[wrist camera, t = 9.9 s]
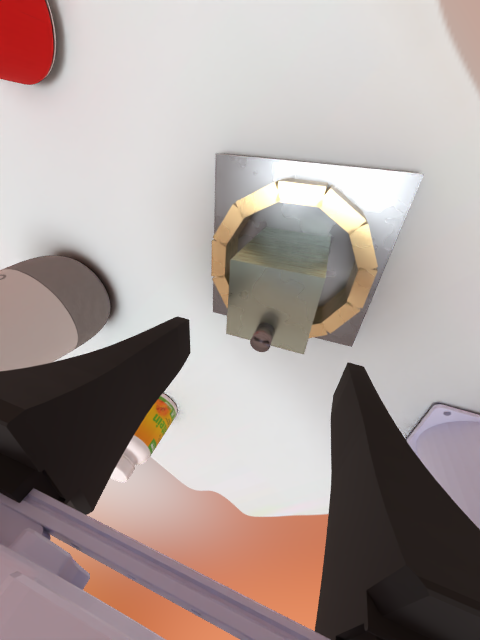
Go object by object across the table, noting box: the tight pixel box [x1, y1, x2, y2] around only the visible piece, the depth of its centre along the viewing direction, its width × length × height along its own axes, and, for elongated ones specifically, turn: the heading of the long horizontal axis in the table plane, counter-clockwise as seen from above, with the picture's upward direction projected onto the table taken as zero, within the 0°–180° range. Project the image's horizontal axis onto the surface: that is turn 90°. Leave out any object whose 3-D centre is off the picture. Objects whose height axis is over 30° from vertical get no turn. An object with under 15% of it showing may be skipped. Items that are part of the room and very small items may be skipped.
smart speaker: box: [0, 256, 110, 371], centre depth 23 cm, size 10×9×14 cm
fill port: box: [211, 153, 424, 347], centre depth 18 cm, size 12×12×4 cm
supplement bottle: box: [110, 393, 177, 482], centre depth 32 cm, size 5×5×10 cm
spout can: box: [226, 227, 331, 354], centre depth 15 cm, size 4×4×8 cm
